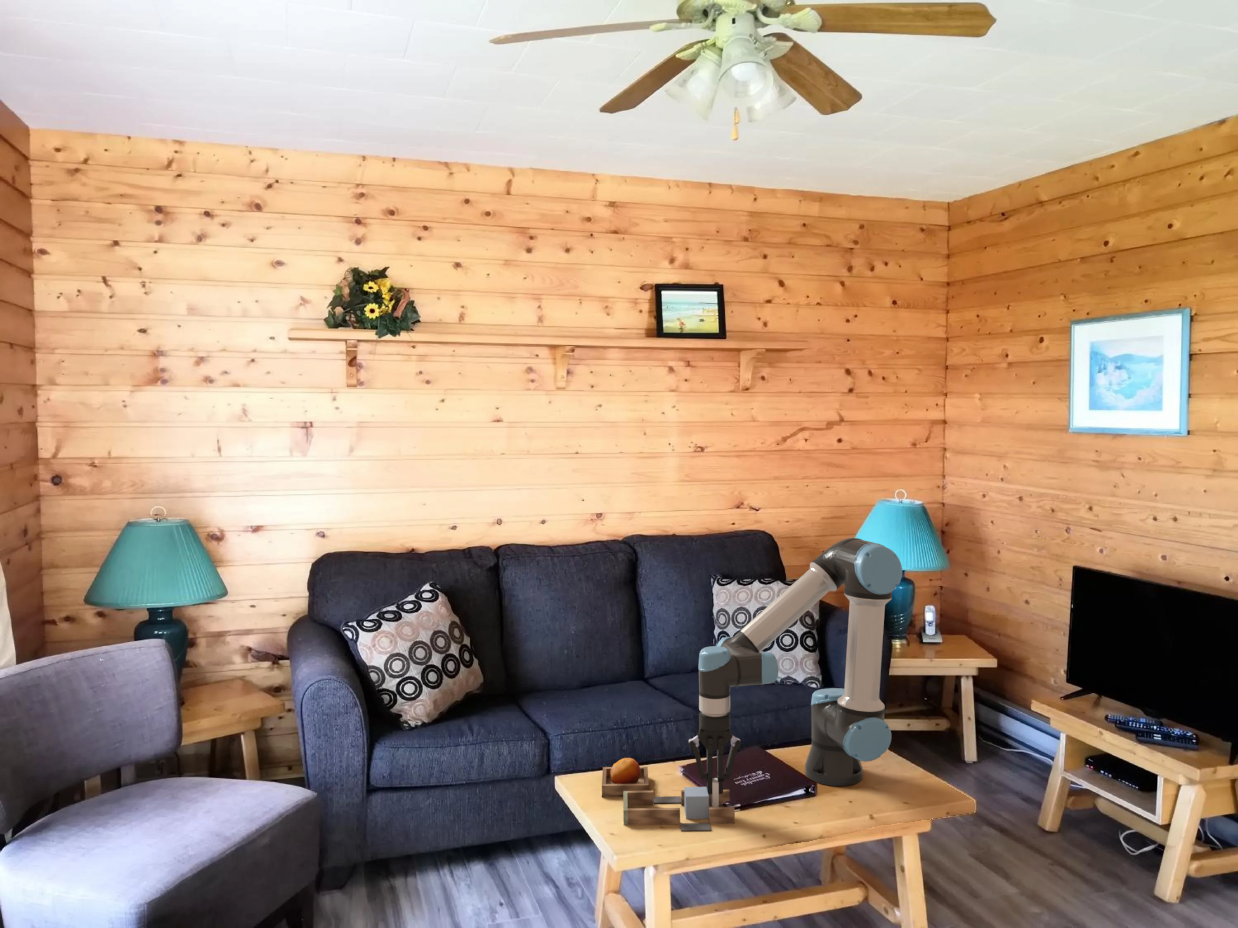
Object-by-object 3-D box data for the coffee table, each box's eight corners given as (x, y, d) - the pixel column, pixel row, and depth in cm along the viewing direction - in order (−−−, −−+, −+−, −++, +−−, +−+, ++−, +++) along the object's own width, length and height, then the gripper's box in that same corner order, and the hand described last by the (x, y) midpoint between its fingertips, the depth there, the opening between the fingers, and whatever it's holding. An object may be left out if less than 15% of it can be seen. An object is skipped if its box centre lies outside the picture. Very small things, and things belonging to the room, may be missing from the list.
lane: (727, 796, 231) (727, 783, 231) (736, 830, 213) (736, 815, 213) (623, 797, 232) (623, 784, 231) (623, 831, 213) (623, 817, 213)
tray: (647, 777, 244) (647, 766, 244) (648, 796, 232) (648, 784, 232) (603, 777, 244) (602, 766, 244) (602, 796, 232) (601, 785, 232)
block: (706, 808, 225) (706, 786, 225) (708, 818, 219) (708, 796, 219) (684, 808, 225) (684, 786, 225) (686, 818, 219) (685, 796, 219)
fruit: (645, 786, 233) (628, 759, 233) (619, 800, 235) (603, 773, 235) (649, 774, 241) (634, 748, 241) (625, 787, 242) (609, 761, 243)
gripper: (739, 706, 224) (739, 799, 226) (686, 706, 224) (687, 799, 226) (743, 716, 217) (743, 812, 218) (689, 716, 217) (689, 813, 218)
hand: (715, 806), depth 222 cm, fingers closed
